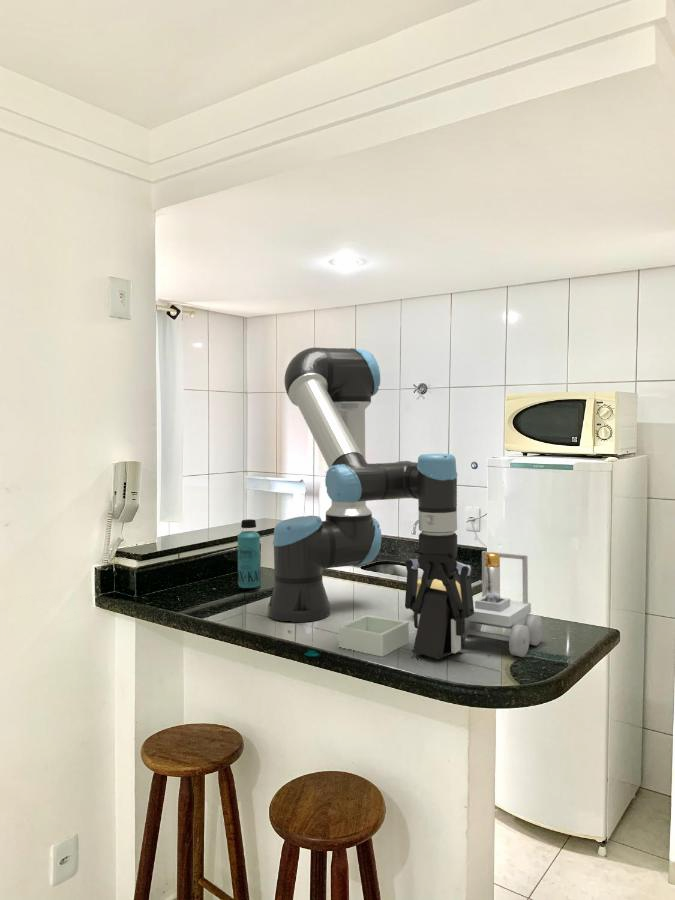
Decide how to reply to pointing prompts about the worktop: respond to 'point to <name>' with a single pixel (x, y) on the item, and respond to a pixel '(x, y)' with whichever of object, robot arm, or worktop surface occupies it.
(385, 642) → the tray
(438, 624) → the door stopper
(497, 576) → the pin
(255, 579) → the beverage bottle
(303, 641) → the worktop surface
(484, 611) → the trolley
